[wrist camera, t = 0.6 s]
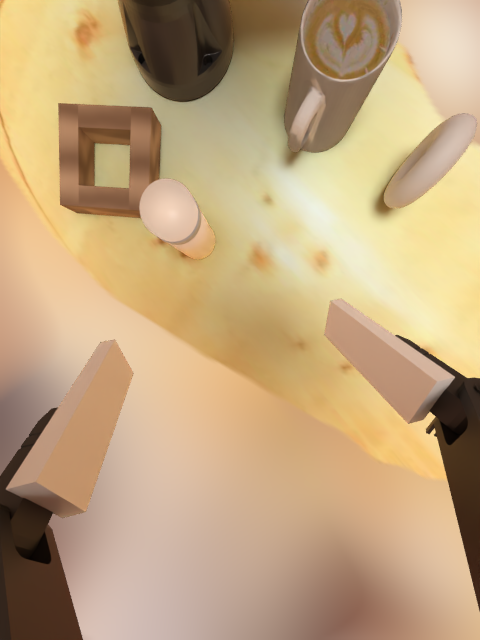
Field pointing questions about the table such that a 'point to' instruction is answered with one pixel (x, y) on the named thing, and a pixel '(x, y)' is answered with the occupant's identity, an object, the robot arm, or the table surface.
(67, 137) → the cradle
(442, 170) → the donut
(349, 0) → the coffee mug
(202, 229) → the white cylinder
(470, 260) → the table surface
